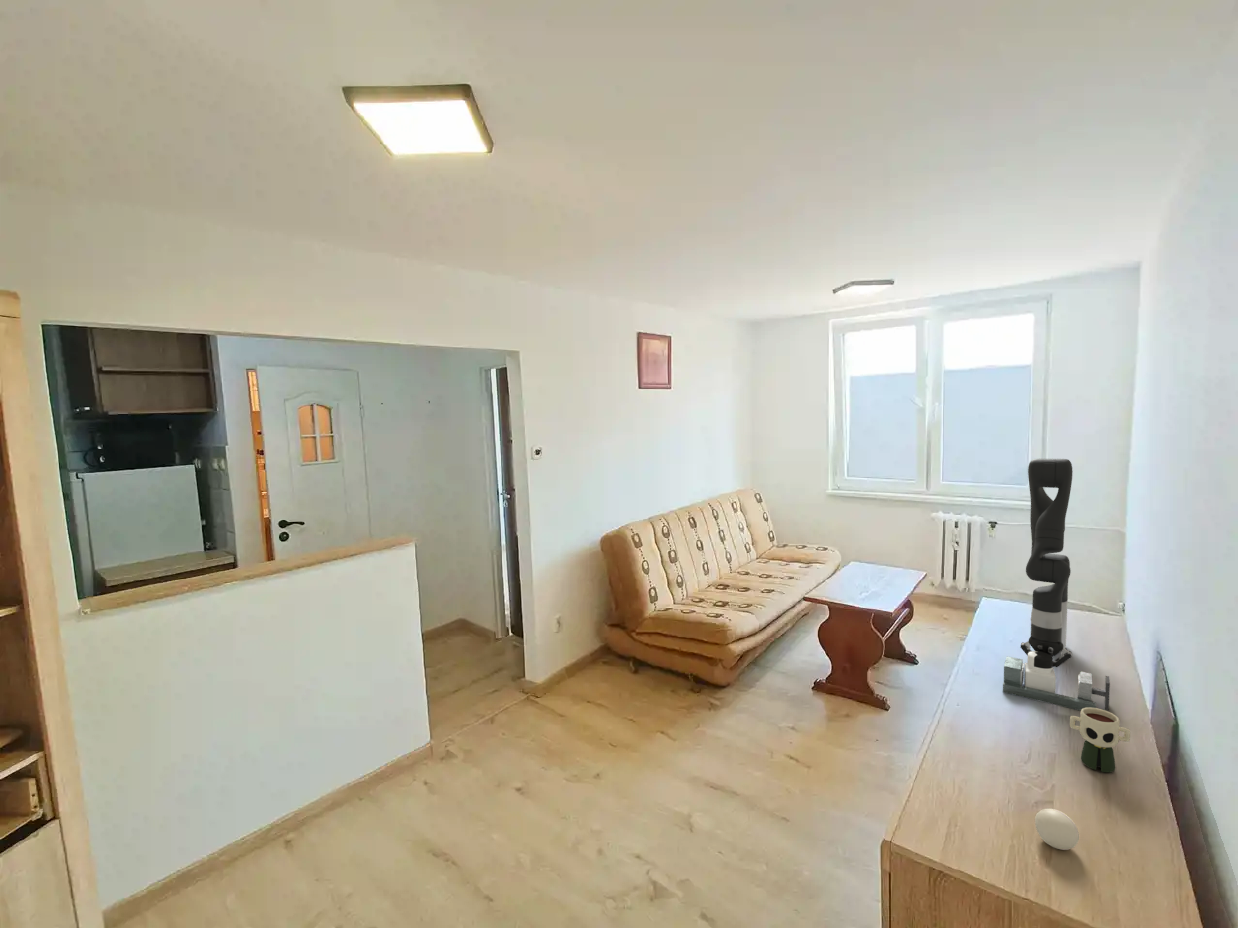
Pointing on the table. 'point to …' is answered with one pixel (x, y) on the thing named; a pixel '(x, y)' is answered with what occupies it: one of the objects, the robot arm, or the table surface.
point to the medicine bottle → (1040, 672)
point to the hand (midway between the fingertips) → (1044, 676)
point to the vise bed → (1015, 687)
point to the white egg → (1056, 829)
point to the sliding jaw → (1087, 690)
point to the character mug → (1099, 737)
